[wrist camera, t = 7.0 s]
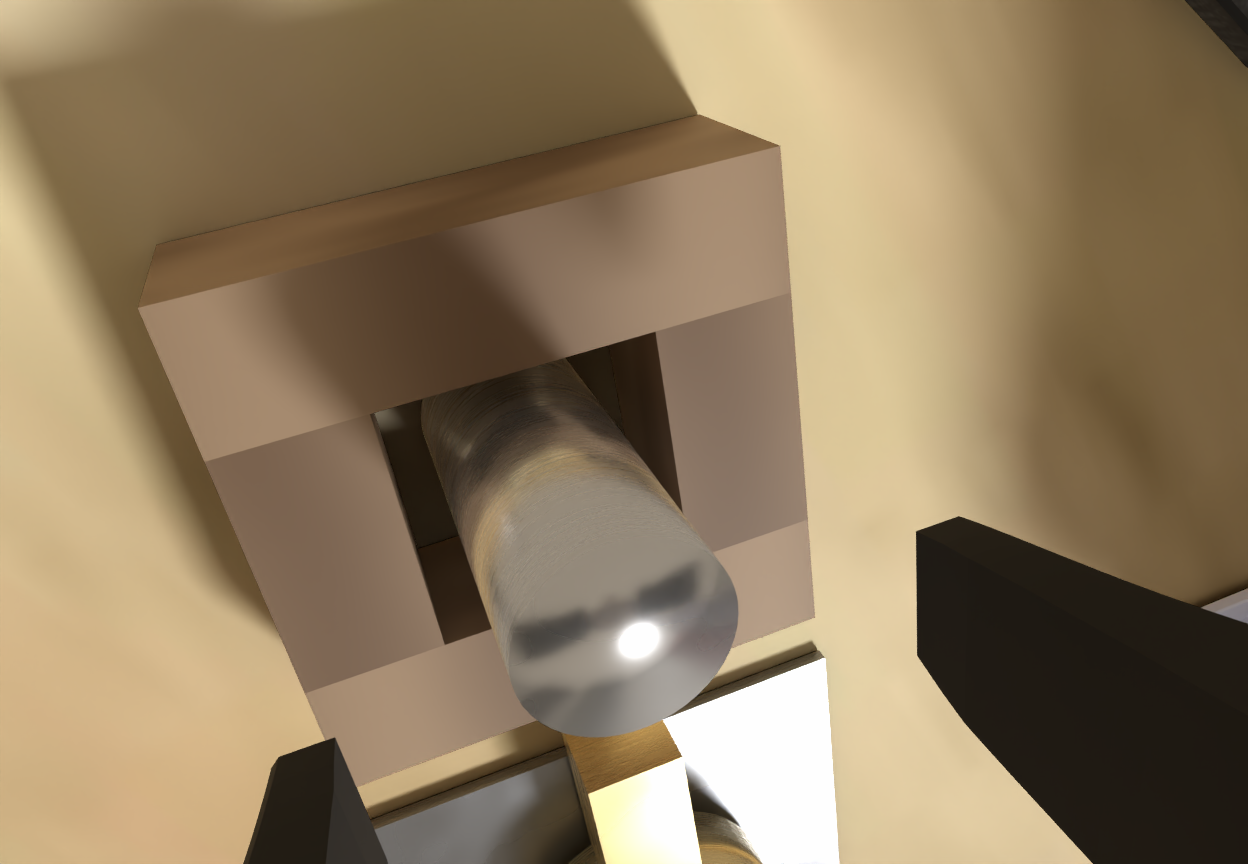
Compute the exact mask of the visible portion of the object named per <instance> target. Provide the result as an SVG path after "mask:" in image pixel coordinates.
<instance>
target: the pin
mask: <svg viewBox="0 0 1248 864" xmlns="http://www.w3.org/2000/svg"><path fill="white" fill-rule="evenodd" d="M421 424H422V429H423V434H424V437H425V440H426V443H427V445H428V448H429V451H430V454H431V457H432V460H433V462H434V465H435V468H436V471H437V474H438V477H439V480H440V482H441V485H442V488H443V491H444V494H445V497H446V499H447V502H448V505H449V508H450V511H451V514H452V516H453V519H454V522H455V525H456V528H457V531H458V534H459V536H460V539H461V542H462V545H463V548H464V551H465V553H466V556H467V559H468V562H469V565H470V568H471V570H472V573H473V576H474V579H475V582H476V585H477V588H478V590H479V593H480V596H481V599H482V602H483V605H484V607H485V610H486V613H487V616H488V619H489V622H490V625H491V627H492V630H493V633H494V636H495V639H496V642H497V644H498V647H499V650H500V653H501V656H502V659H503V661H504V664H505V667H506V670H507V673H508V676H509V679H510V681H511V684H512V687H513V689H514V692H515V694H516V696H517V698H518V700H519V701H520V703H521V704H522V706H523V707H524V708H525V709H526V710H527V711H528V713H529V714H530V715H531V716H532V717H534V718H535V719H536V720H538V721H539V722H540V723H542V724H544V725H546V726H547V727H549V728H551V729H553V730H556V731H559V732H562V733H565V734H569V735H574V736H581V737H608V736H616V735H621V734H626V733H630V732H634V731H637V730H640V729H642V728H645V727H648V726H650V725H652V724H655V723H657V722H659V721H661V720H663V719H665V718H666V717H668V716H670V715H672V714H673V713H675V712H676V711H678V710H679V709H681V708H682V707H684V706H685V705H686V704H688V703H689V702H690V701H691V700H692V699H694V698H695V697H696V696H697V695H698V694H699V693H700V692H701V691H702V690H703V689H704V688H705V687H706V686H707V685H708V684H709V682H710V681H711V680H712V679H713V678H714V676H715V675H716V674H717V672H718V671H719V669H720V668H721V666H722V665H723V663H724V661H725V659H726V657H727V655H728V653H729V651H730V649H731V647H732V644H733V641H734V638H735V634H736V630H737V625H738V614H739V611H738V599H737V595H736V591H735V588H734V585H733V583H732V580H731V578H730V576H729V575H728V573H727V572H726V570H725V569H724V567H723V566H722V565H721V563H720V562H719V561H718V559H717V558H716V557H715V555H714V554H713V553H712V551H711V550H710V549H709V547H708V546H707V545H706V543H705V542H704V541H703V539H702V538H701V537H700V535H699V534H698V533H697V531H696V530H695V529H694V527H693V526H692V525H691V523H690V522H689V521H688V520H687V518H686V517H685V516H684V514H683V513H682V512H681V510H680V509H679V508H678V506H677V505H676V504H675V502H674V501H673V500H672V498H671V497H670V496H669V494H668V493H667V492H666V490H665V489H664V488H663V486H662V485H661V484H660V482H659V481H658V480H657V478H656V477H655V476H654V474H653V473H652V472H651V470H650V469H649V468H648V466H647V465H646V464H645V463H644V461H643V460H642V459H641V457H640V456H639V455H638V453H637V452H636V451H635V449H634V448H633V447H632V445H631V444H630V443H629V441H628V440H627V439H626V437H625V436H624V435H623V433H622V432H621V431H620V429H619V428H618V427H617V425H616V424H615V423H614V421H613V420H612V419H611V417H610V416H609V415H608V413H607V412H606V411H605V409H604V408H603V407H602V405H601V404H600V403H599V402H598V400H597V399H596V398H595V396H594V395H593V394H592V392H591V391H590V390H589V388H588V387H587V386H586V384H585V383H584V382H583V380H582V379H581V378H580V376H579V375H578V374H577V372H576V371H575V370H574V368H573V367H572V366H571V364H570V363H569V362H568V360H567V359H566V358H562V359H559V360H555V361H552V362H548V363H545V364H541V365H538V366H534V367H531V368H527V369H524V370H521V371H517V372H514V373H510V374H507V375H503V376H500V377H496V378H493V379H489V380H486V381H482V382H479V383H476V384H472V385H469V386H465V387H462V388H458V389H455V390H451V391H448V392H444V393H441V394H437V395H434V396H431V397H427V398H424V399H423V400H422V405H421Z"/></svg>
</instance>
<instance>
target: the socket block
mask: <svg viewBox="0 0 1248 864" xmlns="http://www.w3.org/2000/svg"><path fill="white" fill-rule="evenodd" d="M138 310H139V313H140V315H141V317H142V319H143V322H144V324H145V326H146V329H147V331H148V333H149V336H150V338H151V340H152V343H153V345H154V347H155V349H156V352H157V354H158V356H159V359H160V361H161V363H162V366H163V368H164V370H165V372H166V375H167V377H168V379H169V382H170V384H171V386H172V389H173V391H174V393H175V395H176V398H177V400H178V402H179V405H180V407H181V409H182V412H183V414H184V416H185V418H186V421H187V423H188V425H189V428H190V430H191V432H192V435H193V437H194V439H195V442H196V444H197V446H198V448H199V451H200V453H201V455H202V458H203V460H204V462H205V465H206V467H207V469H208V471H209V474H210V476H211V478H212V481H213V483H214V485H215V488H216V490H217V492H218V494H219V497H220V499H221V501H222V504H223V506H224V508H225V511H226V513H227V515H228V517H229V520H230V522H231V524H232V527H233V529H234V531H235V534H236V536H237V538H238V540H239V543H240V545H241V547H242V550H243V552H244V554H245V557H246V559H247V561H248V564H249V566H250V568H251V570H252V573H253V575H254V577H255V580H256V582H257V584H258V587H259V589H260V591H261V593H262V596H263V598H264V600H265V603H266V605H267V607H268V610H269V612H270V614H271V616H272V619H273V621H274V623H275V626H276V628H277V630H278V633H279V635H280V637H281V639H282V642H283V644H284V646H285V649H286V651H287V653H288V656H289V658H290V660H291V663H292V665H293V667H294V669H295V672H296V674H297V676H298V679H299V681H300V683H301V686H302V688H303V690H304V692H305V695H306V697H307V699H308V702H309V704H310V706H311V709H312V711H313V713H314V715H315V718H316V720H317V722H318V725H319V727H320V729H321V732H322V734H323V736H324V738H325V741H326V740H328V739H331V738H334V737H335V738H336V740H337V743H338V745H339V747H340V750H341V752H342V754H343V757H344V759H345V762H346V764H347V766H348V769H349V771H350V773H351V776H352V778H353V780H354V783H355V785H356V787H358V786H361V785H364V784H366V783H369V782H372V781H375V780H377V779H380V778H383V777H385V776H388V775H391V774H393V773H396V772H399V771H402V770H404V769H407V768H410V767H412V766H415V765H418V764H420V763H423V762H426V761H429V760H431V759H434V758H437V757H439V756H442V755H445V754H447V753H450V752H453V751H456V750H458V749H461V748H464V747H466V746H469V745H472V744H474V743H477V742H480V741H483V740H485V739H488V738H491V737H493V736H496V735H499V734H501V733H504V732H507V731H510V730H512V729H515V728H518V727H520V726H523V725H526V724H528V723H531V722H534V721H537V720H536V719H535V718H534V717H532V716H531V715H530V714H529V713H528V711H527V710H526V709H525V708H524V707H523V706H522V704H521V703H520V701H519V700H518V698H517V696H516V694H515V692H514V689H513V687H512V684H511V681H510V679H509V676H508V673H507V670H506V667H505V664H504V661H503V659H502V656H501V653H500V650H499V647H498V644H497V642H496V639H495V636H494V633H493V630H492V627H491V625H490V622H489V619H488V616H487V613H486V610H485V607H484V605H483V602H482V599H481V596H480V593H479V590H478V588H477V585H476V582H475V579H474V576H473V573H472V570H471V568H470V565H469V562H468V559H467V556H466V553H465V551H464V548H463V545H462V542H461V539H460V536H457V537H454V538H450V539H447V540H444V541H441V542H438V543H435V544H432V545H429V546H426V547H423V548H419V549H418V547H417V544H416V541H415V538H414V535H413V532H412V528H411V525H410V522H409V519H408V516H407V513H406V510H405V507H404V504H403V501H402V497H401V494H400V491H399V488H398V485H397V482H396V479H395V476H394V473H393V470H392V466H391V463H390V460H389V457H388V454H387V451H386V448H385V445H384V442H383V439H382V435H381V432H380V429H379V426H378V423H377V420H376V417H375V414H374V413H375V412H379V411H382V410H386V409H389V408H392V407H396V406H399V405H403V404H406V403H410V402H413V401H417V400H420V399H424V398H427V397H431V396H434V395H437V394H441V393H444V392H448V391H451V390H455V389H458V388H462V387H465V386H469V385H472V384H476V383H479V382H482V381H486V380H489V379H493V378H496V377H500V376H503V375H507V374H510V373H514V372H517V371H521V370H524V369H527V368H531V367H534V366H538V365H541V364H545V363H548V362H552V361H555V360H559V359H562V358H566V357H569V356H572V355H576V354H579V353H583V352H586V351H590V350H593V349H597V348H600V347H604V346H607V345H609V349H610V355H611V360H612V366H613V372H614V377H615V383H616V388H617V394H618V400H619V405H620V411H621V416H622V422H623V428H624V433H625V437H626V439H627V440H628V441H629V443H630V444H631V445H632V447H633V448H634V449H635V451H636V452H637V453H638V455H639V456H640V457H641V459H642V460H643V461H644V463H645V464H646V465H647V466H648V468H649V469H650V470H651V472H652V473H653V474H654V476H655V477H656V478H657V480H658V481H659V482H660V484H661V485H662V486H663V488H664V489H665V490H666V492H667V493H668V494H669V496H670V497H671V498H672V500H673V501H674V502H675V504H676V505H677V506H678V508H679V509H680V510H681V512H682V513H683V514H684V516H685V517H686V518H687V520H688V521H689V522H690V523H691V525H692V526H693V527H694V529H695V530H696V531H697V533H698V534H699V535H700V537H701V538H702V539H703V541H704V542H705V543H706V545H707V546H708V547H709V549H710V550H711V551H712V553H713V554H714V555H715V557H716V558H717V559H718V561H719V562H720V563H721V565H722V566H723V567H724V569H725V570H726V572H727V573H728V575H729V576H730V578H731V580H732V583H733V585H734V588H735V591H736V595H737V599H738V611H739V614H738V625H737V630H736V634H735V638H734V641H733V644H732V647H731V648H734V647H736V646H739V645H742V644H744V643H747V642H750V641H752V640H755V639H758V638H761V637H763V636H766V635H769V634H771V633H774V632H777V631H779V630H782V629H785V628H788V627H790V626H793V625H796V624H798V623H801V622H804V621H806V620H809V619H812V618H815V611H814V597H813V584H812V570H811V557H810V543H809V530H808V516H807V503H806V489H805V476H804V462H803V449H802V435H801V422H800V408H799V395H798V381H797V368H796V354H795V341H794V327H793V313H792V300H791V286H790V273H789V259H788V246H787V232H786V219H785V205H784V192H783V178H782V165H781V151H780V146H779V145H776V144H774V143H771V142H769V141H766V140H764V139H761V138H758V137H756V136H753V135H751V134H748V133H746V132H743V131H740V130H738V129H735V128H733V127H730V126H728V125H725V124H722V123H720V122H717V121H715V120H712V119H710V118H707V117H705V116H702V115H696V116H692V117H687V118H683V119H679V120H675V121H671V122H667V123H662V124H658V125H654V126H650V127H646V128H642V129H637V130H633V131H629V132H625V133H621V134H617V135H612V136H608V137H604V138H600V139H596V140H592V141H587V142H583V143H579V144H575V145H571V146H567V147H562V148H558V149H554V150H550V151H546V152H542V153H537V154H533V155H529V156H525V157H521V158H517V159H512V160H508V161H504V162H500V163H496V164H492V165H487V166H483V167H479V168H475V169H471V170H467V171H462V172H458V173H454V174H450V175H446V176H442V177H437V178H433V179H429V180H425V181H421V182H417V183H412V184H408V185H404V186H400V187H396V188H392V189H387V190H383V191H379V192H375V193H371V194H367V195H362V196H358V197H354V198H350V199H346V200H342V201H337V202H333V203H329V204H325V205H321V206H317V207H312V208H308V209H304V210H300V211H296V212H292V213H287V214H283V215H279V216H275V217H271V218H267V219H262V220H258V221H254V222H250V223H246V224H242V225H237V226H233V227H229V228H225V229H221V230H217V231H212V232H208V233H204V234H200V235H196V236H192V237H187V238H183V239H179V240H175V241H171V242H167V243H162V244H158V245H156V248H155V252H154V255H153V258H152V262H151V265H150V268H149V272H148V275H147V278H146V282H145V285H144V288H143V292H142V295H141V298H140V302H139V305H138Z"/></svg>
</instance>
